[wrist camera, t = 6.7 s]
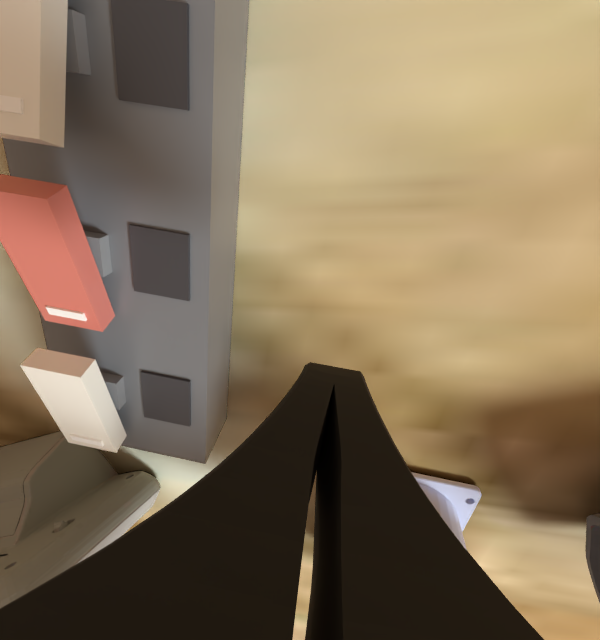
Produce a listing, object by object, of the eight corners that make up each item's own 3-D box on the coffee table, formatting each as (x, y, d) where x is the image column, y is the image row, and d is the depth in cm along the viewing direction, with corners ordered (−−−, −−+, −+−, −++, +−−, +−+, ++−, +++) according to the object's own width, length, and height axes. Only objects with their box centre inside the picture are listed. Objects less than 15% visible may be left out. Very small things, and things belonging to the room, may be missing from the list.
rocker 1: (63, 147, 12) (36, 138, 11) (-12, 135, 12) (-47, 125, 11) (69, -79, 11) (39, -115, 9) (-16, -89, 11) (-55, -125, 10)
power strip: (226, 418, 23) (201, 472, 20) (104, 393, 24) (57, 441, 20) (261, -234, 11) (212, -414, 8) (15, -255, 12) (-144, -432, 8)
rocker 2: (115, 315, 16) (101, 333, 16) (60, 305, 17) (43, 322, 16) (67, 185, 12) (44, 200, 12) (-7, 173, 12) (-33, 187, 12)
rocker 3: (126, 435, 20) (115, 454, 19) (80, 425, 20) (66, 444, 19) (95, 359, 16) (79, 379, 15) (37, 347, 16) (17, 367, 15)
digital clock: (10, 512, 32) (-138, 673, 22) (-52, 431, 28) (-260, 582, 19) (183, 513, 28) (95, 702, 19) (139, 421, 25) (3, 599, 15)
